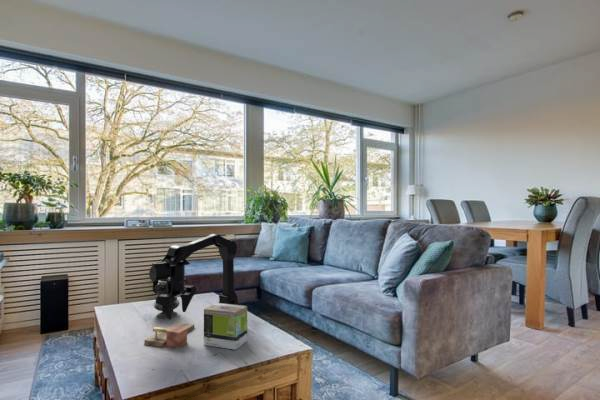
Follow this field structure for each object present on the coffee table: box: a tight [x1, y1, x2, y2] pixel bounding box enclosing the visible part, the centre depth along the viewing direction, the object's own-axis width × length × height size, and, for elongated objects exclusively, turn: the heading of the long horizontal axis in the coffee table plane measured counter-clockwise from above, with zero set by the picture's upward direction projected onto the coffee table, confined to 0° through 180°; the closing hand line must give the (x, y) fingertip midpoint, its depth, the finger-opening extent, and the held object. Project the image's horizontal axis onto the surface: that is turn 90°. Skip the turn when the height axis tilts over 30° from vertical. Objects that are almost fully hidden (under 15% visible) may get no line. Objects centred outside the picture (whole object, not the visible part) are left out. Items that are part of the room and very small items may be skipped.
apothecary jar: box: [153, 277, 180, 319], centre depth 170 cm, size 12×12×18 cm
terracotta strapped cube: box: [152, 326, 188, 349], centre depth 136 cm, size 14×5×6 cm, turn 73°
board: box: [143, 321, 195, 348], centre depth 144 cm, size 9×21×2 cm, turn 163°
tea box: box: [203, 302, 248, 350], centre depth 137 cm, size 15×10×15 cm
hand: (176, 315), depth 135 cm, fingers open, 9 cm apart
